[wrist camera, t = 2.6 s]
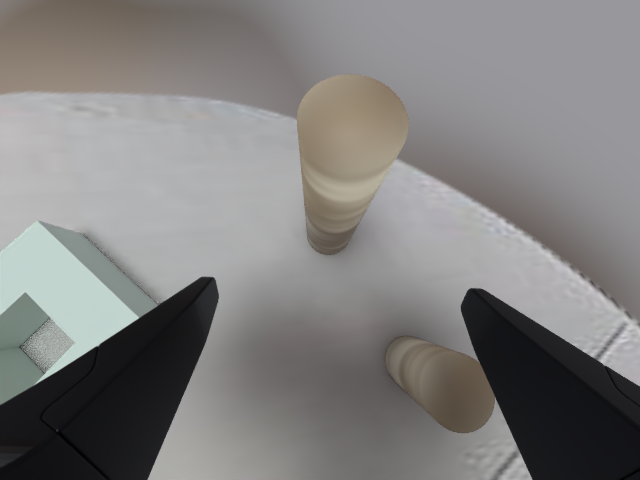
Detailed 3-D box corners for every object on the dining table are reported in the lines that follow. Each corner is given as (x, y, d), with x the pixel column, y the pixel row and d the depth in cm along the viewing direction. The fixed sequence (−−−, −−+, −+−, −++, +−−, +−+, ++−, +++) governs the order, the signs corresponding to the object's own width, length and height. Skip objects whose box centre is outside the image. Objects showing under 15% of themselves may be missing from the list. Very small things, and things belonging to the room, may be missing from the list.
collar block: (183, 328, 20) (156, 333, 16) (52, 474, 17) (-12, 516, 14) (81, 233, 21) (36, 220, 18) (-52, 355, 19) (-132, 366, 15)
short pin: (440, 356, 20) (507, 385, 13) (414, 397, 19) (471, 450, 12) (402, 326, 20) (447, 337, 13) (375, 364, 19) (409, 398, 13)
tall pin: (357, 231, 22) (429, 114, 8) (331, 263, 21) (364, 193, 8) (324, 206, 22) (342, 57, 9) (298, 236, 22) (273, 126, 8)
